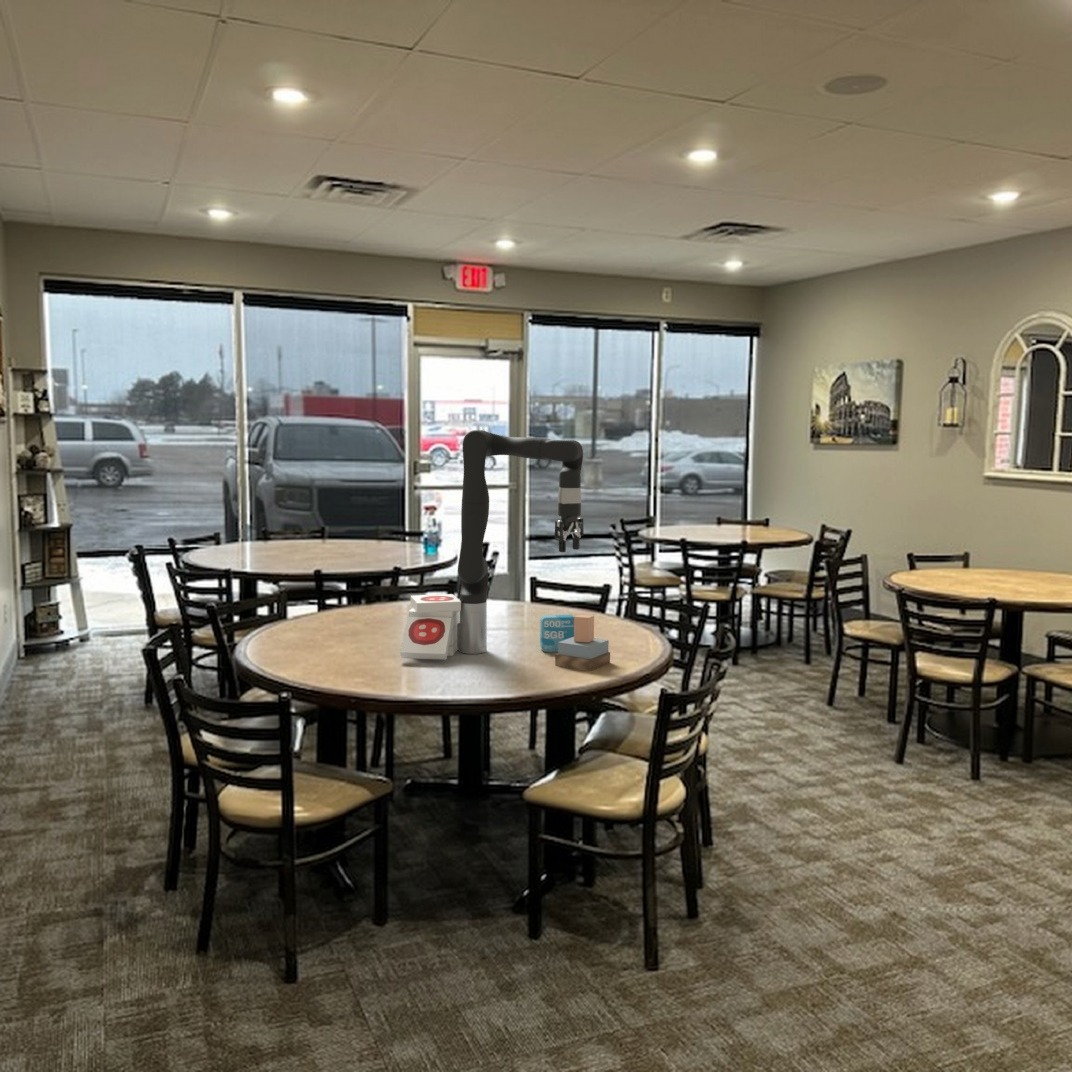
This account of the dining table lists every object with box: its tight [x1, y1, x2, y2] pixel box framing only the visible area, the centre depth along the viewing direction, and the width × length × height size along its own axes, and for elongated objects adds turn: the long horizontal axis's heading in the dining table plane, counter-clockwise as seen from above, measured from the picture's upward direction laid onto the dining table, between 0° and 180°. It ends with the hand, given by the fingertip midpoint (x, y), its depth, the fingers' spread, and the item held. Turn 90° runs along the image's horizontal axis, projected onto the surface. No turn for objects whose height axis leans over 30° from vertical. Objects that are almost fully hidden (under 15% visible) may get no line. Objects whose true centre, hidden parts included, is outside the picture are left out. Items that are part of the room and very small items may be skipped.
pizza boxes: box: [399, 593, 461, 660], centre depth 321 cm, size 19×30×18 cm, turn 175°
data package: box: [539, 614, 575, 653], centre depth 328 cm, size 12×4×12 cm, turn 96°
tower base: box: [554, 651, 611, 672], centre depth 309 cm, size 13×13×4 cm
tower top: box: [557, 637, 610, 659], centre depth 309 cm, size 12×12×4 cm
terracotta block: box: [574, 614, 595, 643], centre depth 308 cm, size 5×5×8 cm
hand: (569, 550), depth 313 cm, fingers open, 8 cm apart
